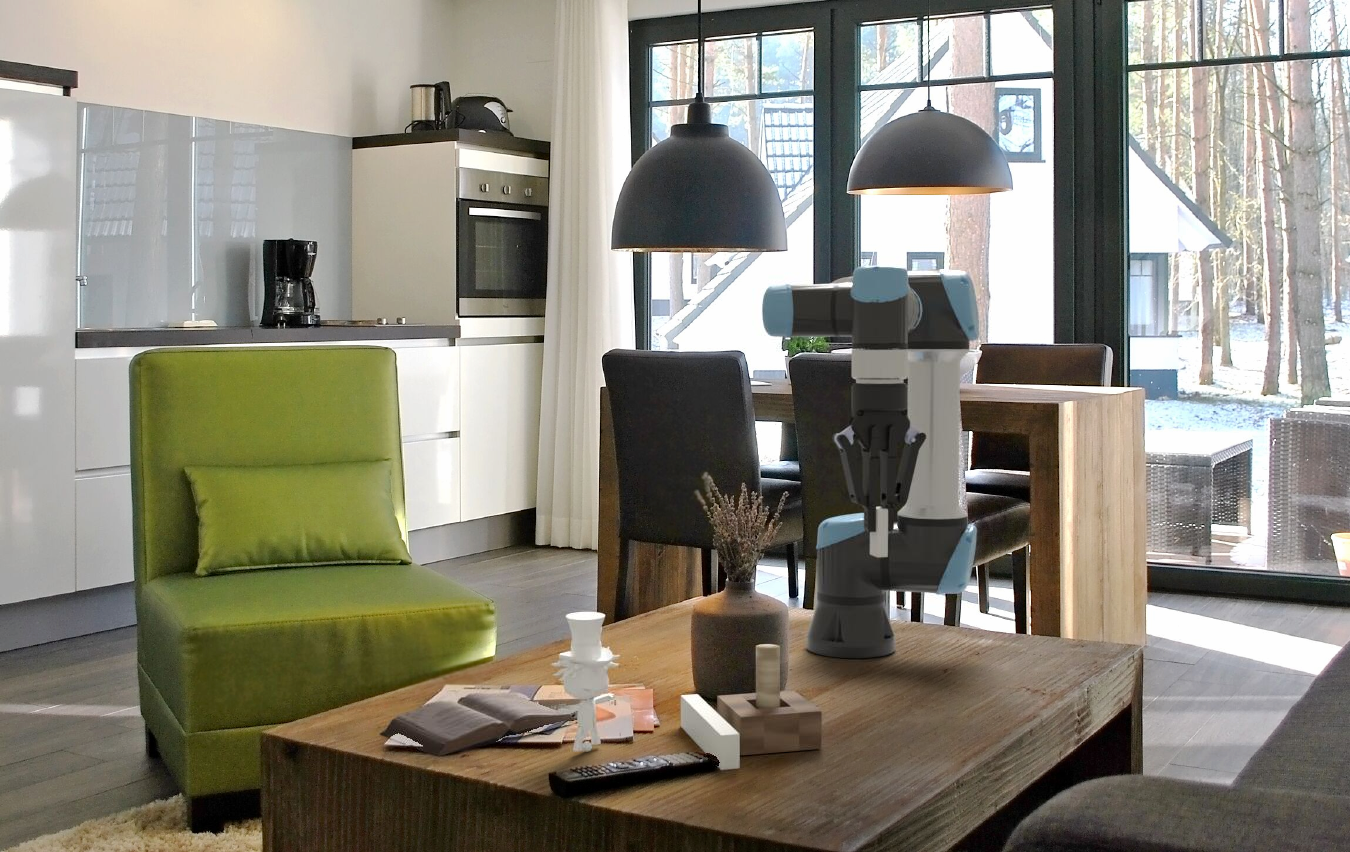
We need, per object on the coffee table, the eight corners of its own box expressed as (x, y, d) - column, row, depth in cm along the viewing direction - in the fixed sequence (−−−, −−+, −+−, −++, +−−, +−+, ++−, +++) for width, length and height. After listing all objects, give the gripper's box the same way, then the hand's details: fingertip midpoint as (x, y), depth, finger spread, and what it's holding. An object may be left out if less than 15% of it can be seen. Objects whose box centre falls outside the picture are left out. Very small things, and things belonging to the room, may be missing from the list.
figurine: (582, 767, 177) (580, 626, 176) (538, 756, 182) (536, 618, 181) (634, 747, 185) (634, 612, 184) (591, 737, 190) (590, 606, 189)
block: (717, 731, 192) (717, 695, 191) (793, 725, 194) (793, 690, 194) (741, 755, 181) (741, 717, 181) (821, 748, 184) (821, 711, 183)
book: (358, 737, 194) (357, 706, 193) (522, 696, 213) (522, 667, 212) (437, 780, 179) (437, 746, 179) (606, 731, 198) (606, 701, 197)
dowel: (753, 733, 189) (752, 644, 188) (775, 731, 190) (775, 643, 189) (759, 739, 186) (759, 649, 185) (783, 737, 186) (782, 648, 186)
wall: (680, 726, 195) (680, 695, 195) (697, 725, 196) (697, 694, 195) (721, 770, 176) (721, 735, 175) (739, 768, 176) (739, 734, 176)
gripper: (913, 379, 194) (911, 549, 195) (824, 381, 190) (823, 553, 192) (936, 381, 186) (934, 557, 188) (844, 383, 183) (843, 562, 185)
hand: (878, 555), depth 190 cm, fingers closed
